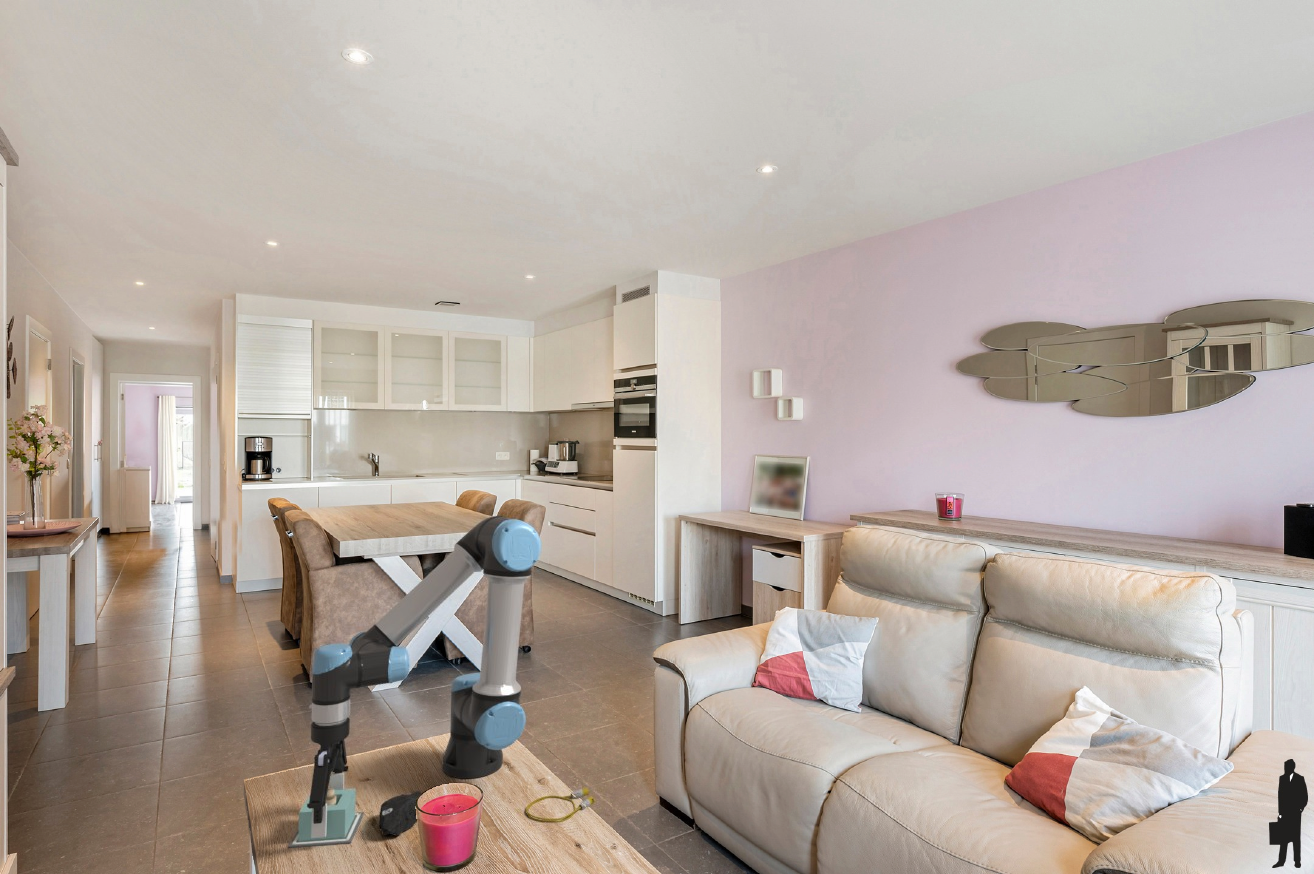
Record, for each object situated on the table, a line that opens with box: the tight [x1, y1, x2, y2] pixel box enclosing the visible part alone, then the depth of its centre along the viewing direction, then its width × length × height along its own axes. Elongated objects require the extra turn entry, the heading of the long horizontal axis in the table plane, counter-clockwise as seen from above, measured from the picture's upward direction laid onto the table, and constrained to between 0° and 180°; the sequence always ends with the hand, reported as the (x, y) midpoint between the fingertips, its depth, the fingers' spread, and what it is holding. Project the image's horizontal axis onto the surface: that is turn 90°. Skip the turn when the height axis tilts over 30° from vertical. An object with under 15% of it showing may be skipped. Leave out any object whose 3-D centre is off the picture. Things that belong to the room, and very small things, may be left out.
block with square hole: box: [298, 788, 357, 842], centre depth 151 cm, size 9×9×6 cm
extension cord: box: [525, 787, 595, 823], centre depth 162 cm, size 12×16×2 cm
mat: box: [287, 811, 365, 849], centre depth 151 cm, size 12×12×1 cm
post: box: [326, 787, 336, 805], centre depth 151 cm, size 3×3×8 cm
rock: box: [378, 790, 423, 836], centre depth 153 cm, size 10×9×6 cm
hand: (328, 819), depth 151 cm, fingers open, 13 cm apart
